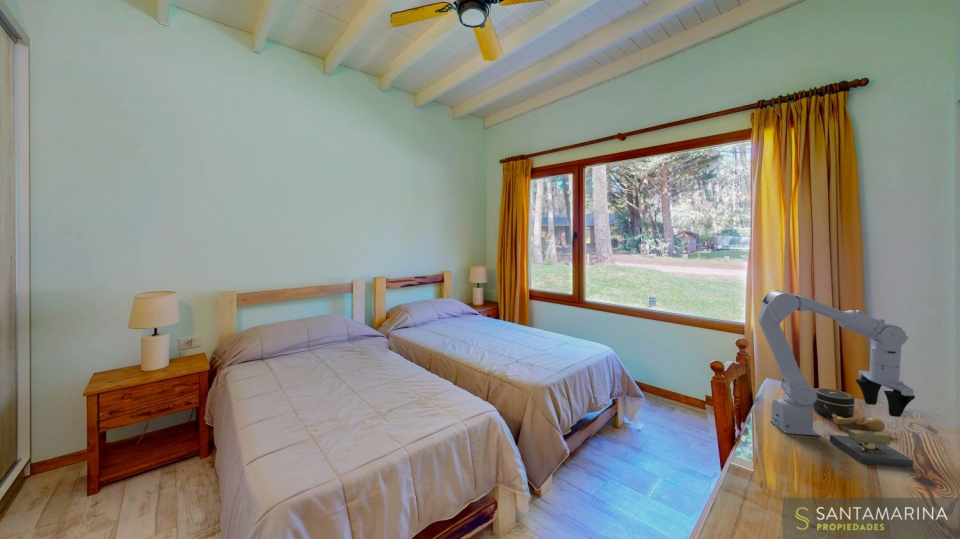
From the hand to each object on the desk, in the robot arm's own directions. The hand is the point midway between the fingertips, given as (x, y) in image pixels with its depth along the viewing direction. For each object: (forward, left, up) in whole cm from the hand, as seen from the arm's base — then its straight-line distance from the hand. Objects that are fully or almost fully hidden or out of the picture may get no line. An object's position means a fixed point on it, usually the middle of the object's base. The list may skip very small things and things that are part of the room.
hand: (882, 409), depth 101 cm
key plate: (-8, -7, -10) cm, 15 cm away
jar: (0, +18, -10) cm, 20 cm away
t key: (-8, -7, -10) cm, 15 cm away
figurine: (+5, +6, -9) cm, 12 cm away
